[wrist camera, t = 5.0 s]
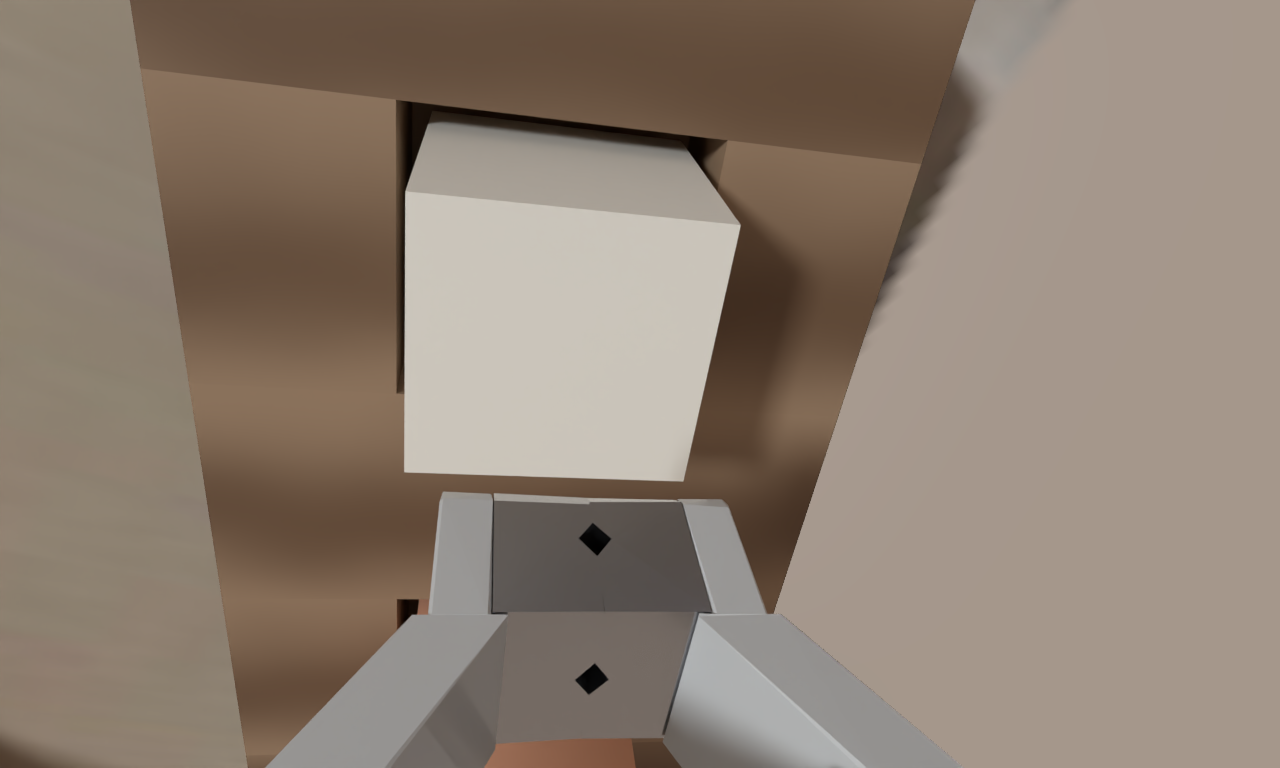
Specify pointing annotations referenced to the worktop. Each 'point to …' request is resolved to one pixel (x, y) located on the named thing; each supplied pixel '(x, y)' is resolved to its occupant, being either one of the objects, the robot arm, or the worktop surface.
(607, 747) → the terracotta key
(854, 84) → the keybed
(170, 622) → the worktop surface
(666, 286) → the cream key
